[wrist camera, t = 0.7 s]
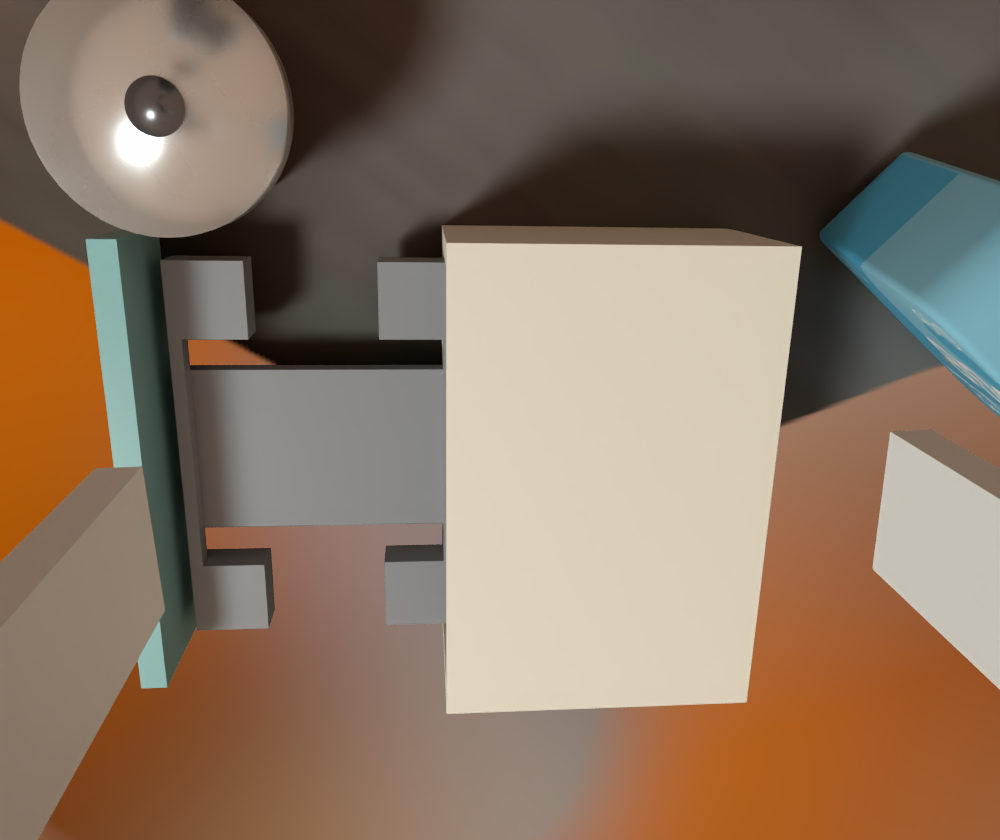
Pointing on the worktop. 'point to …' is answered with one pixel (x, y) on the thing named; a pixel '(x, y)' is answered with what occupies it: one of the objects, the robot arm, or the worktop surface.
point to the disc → (157, 110)
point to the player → (609, 461)
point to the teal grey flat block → (264, 435)
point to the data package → (932, 261)
